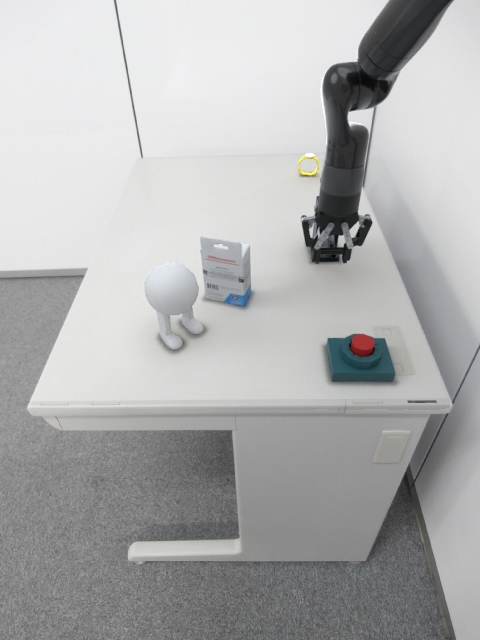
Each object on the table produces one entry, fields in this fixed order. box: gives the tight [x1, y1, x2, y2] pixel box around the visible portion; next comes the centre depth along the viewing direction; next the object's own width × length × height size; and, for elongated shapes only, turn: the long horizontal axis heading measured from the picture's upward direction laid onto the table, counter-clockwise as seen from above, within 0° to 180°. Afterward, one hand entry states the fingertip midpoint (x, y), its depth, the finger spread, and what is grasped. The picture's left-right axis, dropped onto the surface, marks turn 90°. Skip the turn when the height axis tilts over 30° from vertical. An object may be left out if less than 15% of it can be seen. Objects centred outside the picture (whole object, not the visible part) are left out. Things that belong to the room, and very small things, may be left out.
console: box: [325, 333, 396, 383], centre depth 74 cm, size 10×8×4 cm
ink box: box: [199, 235, 252, 307], centre depth 85 cm, size 8×5×15 cm, turn 71°
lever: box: [320, 235, 345, 256], centre depth 92 cm, size 12×5×2 cm, turn 179°
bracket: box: [308, 195, 341, 263], centre depth 96 cm, size 8×6×13 cm
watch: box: [297, 152, 320, 177], centre depth 128 cm, size 6×3×6 cm, turn 81°
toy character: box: [144, 261, 205, 351], centre depth 77 cm, size 9×9×15 cm
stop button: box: [351, 333, 374, 357], centre depth 73 cm, size 4×4×2 cm
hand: (330, 261), depth 92 cm, fingers closed on lever, 5 cm apart
